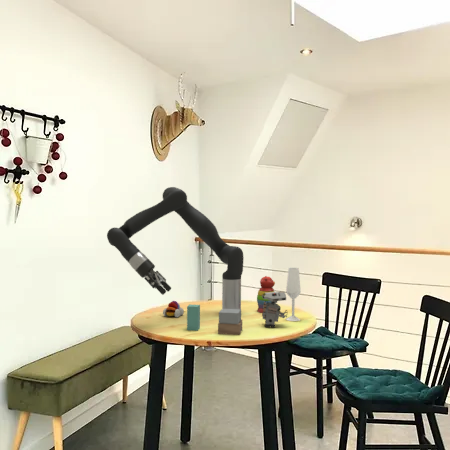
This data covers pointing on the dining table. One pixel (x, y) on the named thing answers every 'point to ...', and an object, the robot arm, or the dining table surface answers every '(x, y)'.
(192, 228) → the robot arm
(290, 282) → the champagne flute
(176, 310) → the rainbow petal toy
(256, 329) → the dining table surface
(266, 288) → the stacking bear
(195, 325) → the green block
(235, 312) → the gray top block
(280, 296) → the figurine
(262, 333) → the dining table surface
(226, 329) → the walnut base block
